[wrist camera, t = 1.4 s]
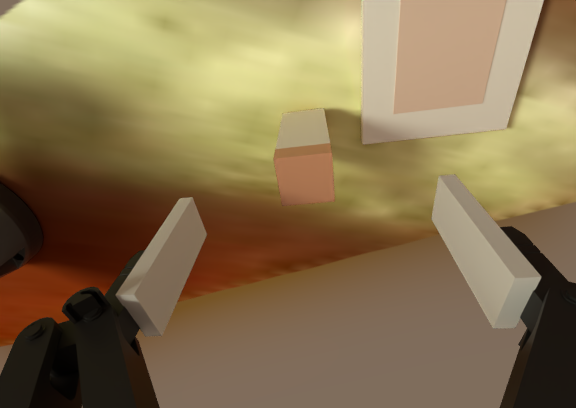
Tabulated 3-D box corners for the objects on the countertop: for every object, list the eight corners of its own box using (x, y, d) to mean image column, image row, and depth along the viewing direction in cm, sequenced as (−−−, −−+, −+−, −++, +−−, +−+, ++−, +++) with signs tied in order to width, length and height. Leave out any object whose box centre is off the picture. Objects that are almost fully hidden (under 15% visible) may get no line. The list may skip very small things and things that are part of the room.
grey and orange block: (288, 145, 28) (282, 205, 19) (283, 109, 26) (273, 158, 18) (325, 141, 27) (334, 201, 19) (322, 103, 25) (331, 152, 17)
